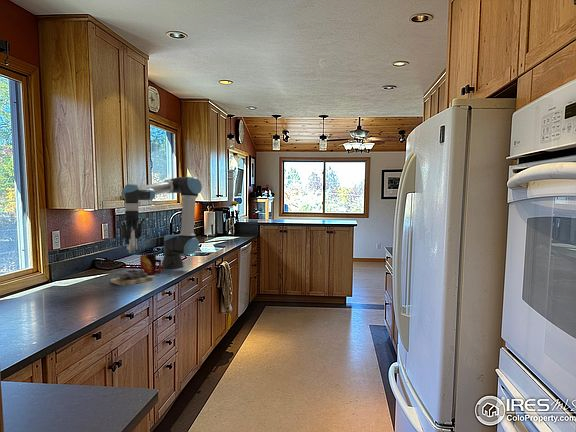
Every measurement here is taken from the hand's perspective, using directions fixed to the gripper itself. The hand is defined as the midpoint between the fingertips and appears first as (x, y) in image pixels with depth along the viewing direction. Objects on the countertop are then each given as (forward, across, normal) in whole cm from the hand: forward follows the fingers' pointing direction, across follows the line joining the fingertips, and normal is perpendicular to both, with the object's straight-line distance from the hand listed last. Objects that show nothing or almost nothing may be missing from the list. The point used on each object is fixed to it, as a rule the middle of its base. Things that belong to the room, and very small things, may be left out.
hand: (132, 249), depth 230 cm
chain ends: (+19, 0, 0) cm, 19 cm away
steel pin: (+2, 0, 0) cm, 2 cm away
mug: (+20, -20, -9) cm, 30 cm away
